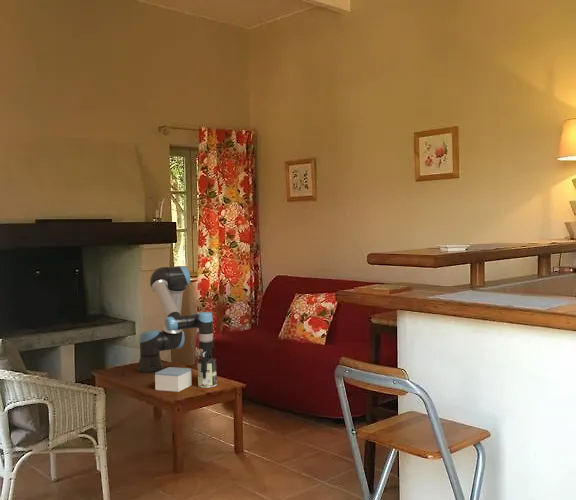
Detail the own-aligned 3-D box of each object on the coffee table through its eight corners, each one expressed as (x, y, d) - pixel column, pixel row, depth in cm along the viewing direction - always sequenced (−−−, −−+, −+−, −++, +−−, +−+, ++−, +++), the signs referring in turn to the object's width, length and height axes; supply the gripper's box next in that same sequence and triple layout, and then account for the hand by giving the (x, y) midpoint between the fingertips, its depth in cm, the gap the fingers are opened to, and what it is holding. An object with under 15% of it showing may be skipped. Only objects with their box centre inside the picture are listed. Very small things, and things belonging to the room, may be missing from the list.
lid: (169, 368, 358) (169, 367, 358) (191, 370, 353) (191, 368, 353) (155, 374, 345) (155, 372, 345) (178, 376, 340) (178, 374, 340)
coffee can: (211, 382, 359) (210, 356, 358) (220, 385, 351) (219, 359, 350) (194, 385, 353) (193, 359, 352) (203, 388, 345) (202, 362, 344)
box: (169, 383, 358) (168, 369, 358) (191, 385, 353) (191, 370, 353) (155, 389, 345) (154, 374, 345) (178, 391, 340) (177, 376, 340)
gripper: (204, 337, 362) (205, 376, 363) (194, 345, 340) (195, 387, 341) (217, 337, 362) (218, 376, 363) (208, 344, 339) (209, 387, 340)
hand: (207, 381), depth 352 cm, fingers closed on coffee can, 10 cm apart
